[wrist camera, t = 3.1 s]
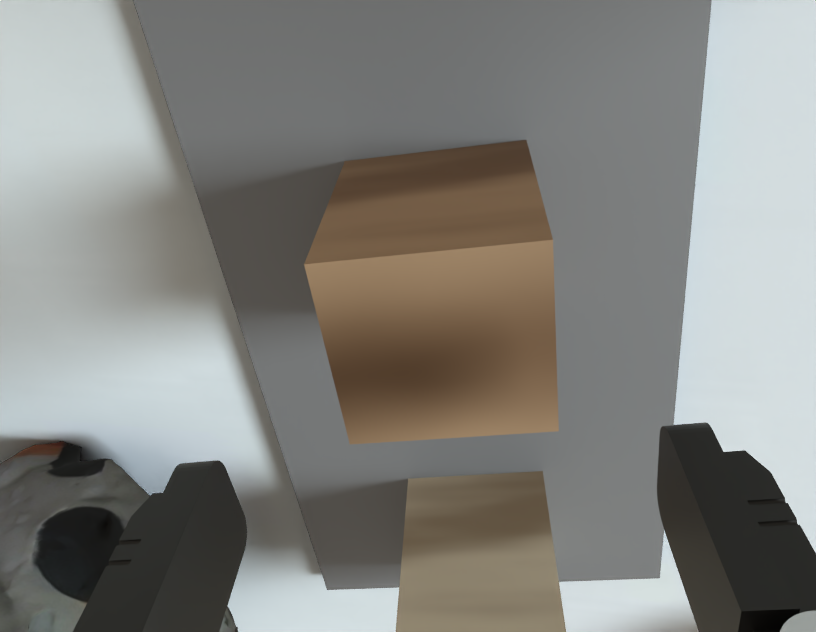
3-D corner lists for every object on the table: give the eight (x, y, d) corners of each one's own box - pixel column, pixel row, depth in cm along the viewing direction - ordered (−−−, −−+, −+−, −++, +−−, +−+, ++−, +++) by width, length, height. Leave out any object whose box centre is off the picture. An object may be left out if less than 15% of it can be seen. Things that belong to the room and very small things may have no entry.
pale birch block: (408, 478, 25) (393, 658, 20) (542, 470, 25) (569, 654, 19) (425, 563, 28) (416, 744, 22) (546, 558, 27) (571, 743, 22)
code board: (-27, -544, 13) (-54, -567, 12) (763, -760, 11) (784, -803, 10) (330, 574, 30) (327, 590, 29) (654, 561, 28) (659, 578, 28)
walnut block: (345, 161, 19) (303, 264, 14) (526, 139, 18) (552, 239, 13) (374, 311, 21) (349, 444, 16) (534, 297, 21) (558, 431, 16)
